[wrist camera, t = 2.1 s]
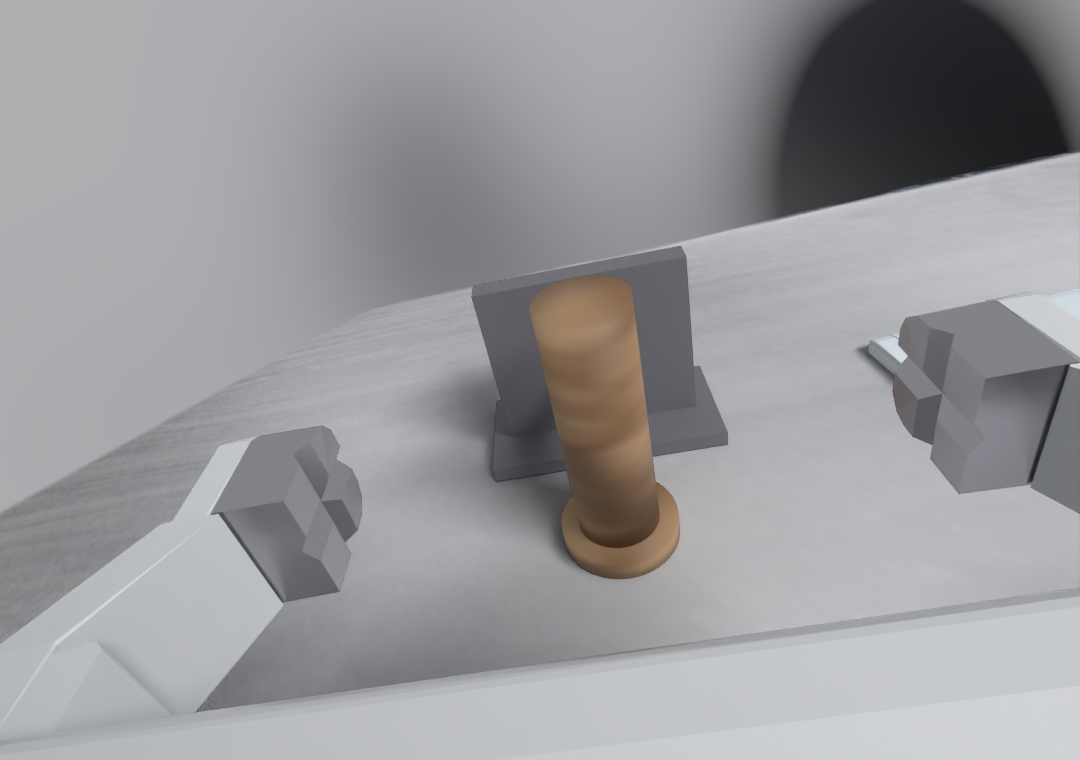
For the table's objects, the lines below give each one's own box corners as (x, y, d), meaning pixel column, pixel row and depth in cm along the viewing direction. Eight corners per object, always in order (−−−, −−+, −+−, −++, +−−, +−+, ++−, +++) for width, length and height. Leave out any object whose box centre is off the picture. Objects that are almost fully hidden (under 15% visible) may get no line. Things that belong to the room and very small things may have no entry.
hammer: (568, 587, 27) (504, 352, 20) (552, 359, 41) (512, 179, 34) (691, 569, 26) (669, 322, 19) (630, 345, 41) (606, 160, 34)
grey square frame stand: (495, 481, 33) (445, 326, 27) (499, 411, 38) (457, 268, 32) (727, 444, 32) (722, 274, 26) (700, 376, 37) (690, 223, 31)
